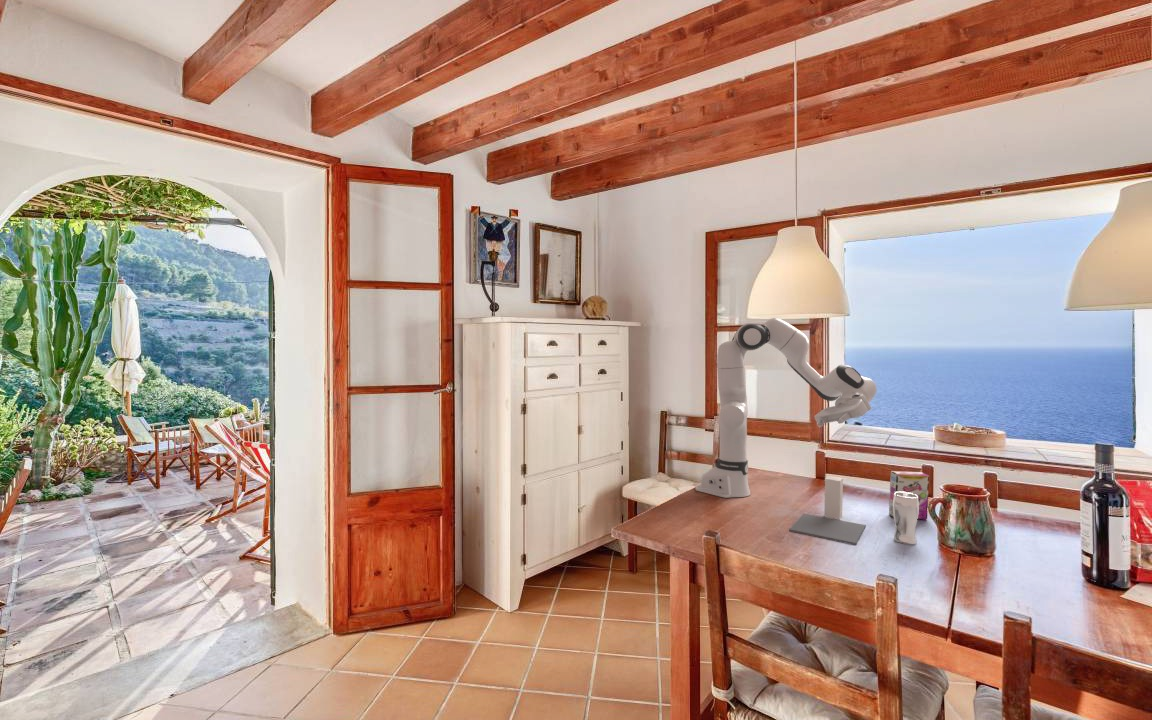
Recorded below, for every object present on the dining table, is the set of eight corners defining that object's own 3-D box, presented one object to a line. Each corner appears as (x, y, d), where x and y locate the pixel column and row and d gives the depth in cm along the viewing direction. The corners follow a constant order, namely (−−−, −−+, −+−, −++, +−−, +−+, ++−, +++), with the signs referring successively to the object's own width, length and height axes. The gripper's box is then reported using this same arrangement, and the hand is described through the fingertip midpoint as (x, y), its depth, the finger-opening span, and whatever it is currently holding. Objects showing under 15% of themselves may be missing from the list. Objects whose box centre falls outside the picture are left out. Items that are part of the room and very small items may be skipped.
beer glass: (908, 546, 160) (909, 498, 160) (887, 538, 167) (888, 492, 166) (923, 543, 163) (924, 496, 162) (901, 535, 169) (903, 490, 169)
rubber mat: (789, 530, 174) (789, 529, 174) (803, 515, 190) (803, 513, 190) (856, 544, 162) (856, 543, 162) (865, 526, 178) (865, 525, 178)
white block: (824, 516, 188) (825, 478, 187) (827, 513, 192) (827, 475, 191) (839, 519, 185) (840, 481, 184) (842, 516, 189) (842, 478, 188)
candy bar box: (895, 519, 185) (896, 474, 185) (888, 514, 190) (889, 470, 190) (928, 520, 184) (929, 475, 184) (920, 515, 189) (921, 471, 188)
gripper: (822, 403, 210) (803, 420, 204) (866, 393, 192) (846, 412, 186) (830, 416, 210) (811, 434, 204) (875, 407, 192) (856, 427, 186)
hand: (828, 423), depth 195 cm, fingers open, 8 cm apart
